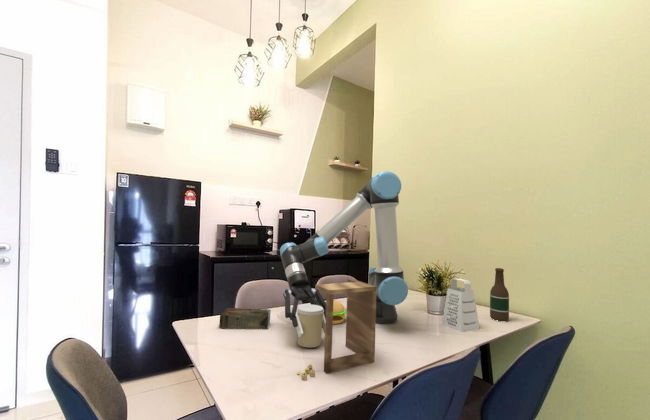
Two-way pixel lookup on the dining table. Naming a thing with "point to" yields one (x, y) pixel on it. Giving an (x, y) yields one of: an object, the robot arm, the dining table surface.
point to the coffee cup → (310, 325)
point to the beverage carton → (244, 318)
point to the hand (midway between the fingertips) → (314, 333)
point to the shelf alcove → (351, 324)
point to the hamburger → (338, 312)
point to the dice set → (307, 372)
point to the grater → (460, 307)
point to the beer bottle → (499, 298)
